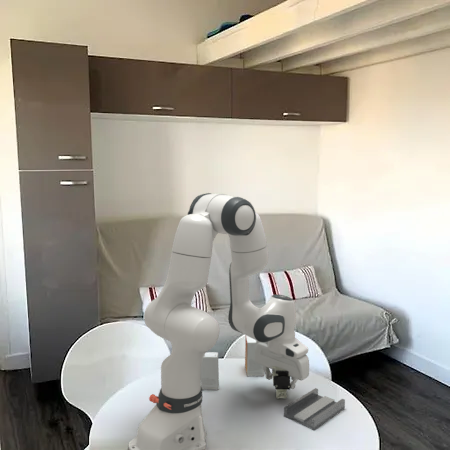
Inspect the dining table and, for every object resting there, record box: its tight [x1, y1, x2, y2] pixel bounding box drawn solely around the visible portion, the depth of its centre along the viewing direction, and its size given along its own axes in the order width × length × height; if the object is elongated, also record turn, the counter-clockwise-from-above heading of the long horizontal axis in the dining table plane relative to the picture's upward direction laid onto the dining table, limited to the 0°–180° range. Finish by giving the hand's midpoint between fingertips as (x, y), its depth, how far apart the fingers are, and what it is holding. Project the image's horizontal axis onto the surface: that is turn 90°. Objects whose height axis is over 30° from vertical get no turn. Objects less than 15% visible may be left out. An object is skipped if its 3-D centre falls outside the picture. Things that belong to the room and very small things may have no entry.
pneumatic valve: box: [271, 366, 291, 399], centre depth 167 cm, size 6×12×12 cm, turn 178°
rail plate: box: [283, 387, 346, 431], centre depth 158 cm, size 17×11×3 cm, turn 136°
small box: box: [244, 334, 265, 378], centre depth 185 cm, size 8×6×13 cm
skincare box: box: [201, 351, 220, 391], centre depth 173 cm, size 6×4×12 cm
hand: (280, 383), depth 168 cm, fingers open, 8 cm apart
